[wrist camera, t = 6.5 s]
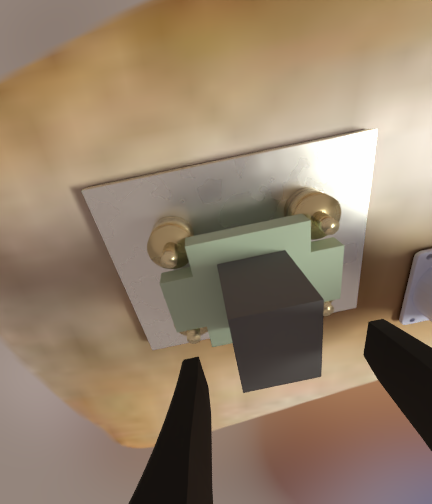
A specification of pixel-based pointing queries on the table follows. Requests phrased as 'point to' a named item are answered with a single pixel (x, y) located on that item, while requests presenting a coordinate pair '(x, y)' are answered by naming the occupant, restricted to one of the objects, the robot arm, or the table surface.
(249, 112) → the table surface
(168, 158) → the table surface
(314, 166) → the plate
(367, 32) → the table surface
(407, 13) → the table surface
